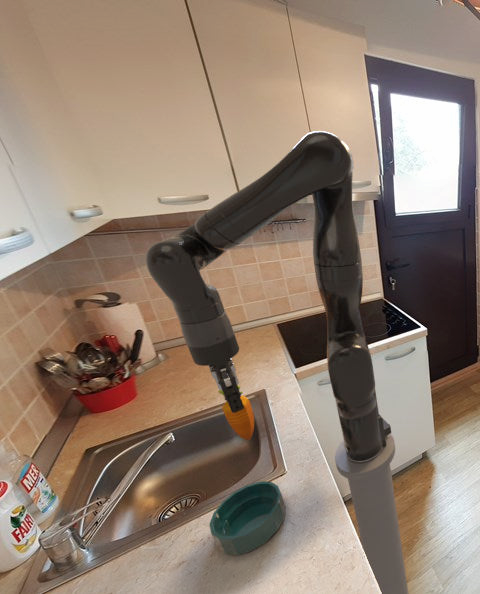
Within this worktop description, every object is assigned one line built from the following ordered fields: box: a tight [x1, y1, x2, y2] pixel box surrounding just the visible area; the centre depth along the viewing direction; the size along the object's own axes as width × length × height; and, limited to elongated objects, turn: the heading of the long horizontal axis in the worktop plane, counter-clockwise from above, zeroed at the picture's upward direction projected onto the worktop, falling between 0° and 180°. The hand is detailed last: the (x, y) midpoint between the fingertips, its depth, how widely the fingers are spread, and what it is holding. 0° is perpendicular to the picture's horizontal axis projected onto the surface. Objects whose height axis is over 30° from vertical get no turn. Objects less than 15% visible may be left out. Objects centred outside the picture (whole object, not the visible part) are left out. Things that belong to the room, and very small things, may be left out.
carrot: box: [218, 384, 255, 441], centre depth 73 cm, size 5×5×15 cm
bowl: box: [209, 481, 287, 556], centre depth 69 cm, size 12×12×6 cm
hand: (235, 403), depth 72 cm, fingers closed on carrot, 4 cm apart
